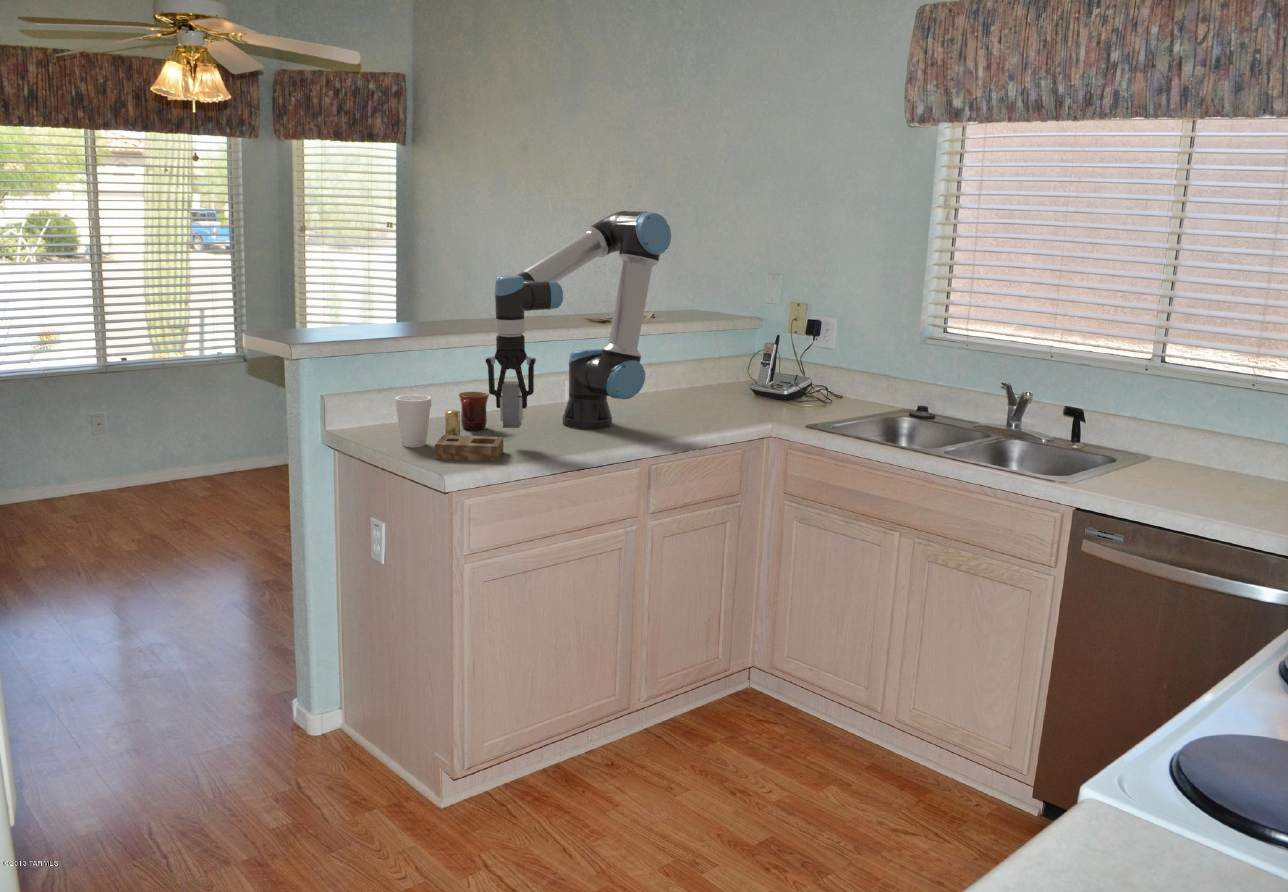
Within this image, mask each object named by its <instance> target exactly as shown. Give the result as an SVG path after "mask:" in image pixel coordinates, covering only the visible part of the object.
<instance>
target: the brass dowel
mask: <svg viewBox="0 0 1288 892" xmlns="http://www.w3.org/2000/svg"><path fill="white" fill-rule="evenodd" d="M444 423H445V425H444V426H445V427H444V428H445V431H444V432H445V434H444V435H455V436H461V411H460V410H457V409H456V410H455V409H448V410H445V412H444Z"/></svg>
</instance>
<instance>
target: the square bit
mask: <svg viewBox="0 0 1288 892" xmlns="http://www.w3.org/2000/svg"><path fill="white" fill-rule="evenodd" d="M501 395H502V408H503V421H502V428H503V429H520V427H521V425H522V421H519V397H520V396H522V395H521V391H520V387H519V383H518V380H516V381H515V380H514V381H513V380H511V381H509V380H508V381H507V380H506V381H505V380H504V382H503V383H502V394H501Z"/></svg>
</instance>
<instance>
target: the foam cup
mask: <svg viewBox="0 0 1288 892" xmlns="http://www.w3.org/2000/svg"><path fill="white" fill-rule="evenodd" d="M394 399H395V401H394V402H395V409H396V413H397V423H398V427H399V435H400V439H401V441H400V442H401V446H403V447H405V448H421V447H425V446H426V445H427V440H428V439H427V438H428V429H429V422H430V414H431V413H430V412H431V408H432V397H431V396H429V395H425V394H403V395H398V396H396V397H395V398H394Z"/></svg>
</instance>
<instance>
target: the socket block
mask: <svg viewBox="0 0 1288 892" xmlns="http://www.w3.org/2000/svg"><path fill="white" fill-rule="evenodd" d="M503 453H504V437H503V436H479V435H477V436H476V435H475V436H474V435H460V436H455V435H445V434H443V435H442V436H441V438H439V439H438V441H436V442H435V443H434V459H435V460H440V461H441V460H442V461H446V460H447V461H448V460H449V461H467V462H468V461H471V462H498V461H499V460H500V458H501V457H502V454H503Z"/></svg>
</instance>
